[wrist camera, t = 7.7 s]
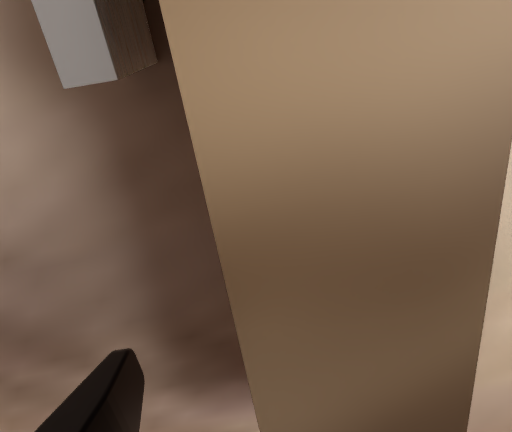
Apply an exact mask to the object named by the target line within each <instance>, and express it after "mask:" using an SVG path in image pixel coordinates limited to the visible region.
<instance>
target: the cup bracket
mask: <svg viewBox="0 0 512 432" xmlns="http://www.w3.org/2000/svg"><path fill="white" fill-rule="evenodd" d="M31 2H32V4H33V7H34V10H35V12H36V15H37V18H38V21H39V23H40V26H41V29H42V31H43V34H44V37H45V40H46V42H47V45H48V48H49V50H50V53H51V56H52V59H53V61H54V64H55V67H56V69H57V72H58V75H59V78H60V80H61V83H62V86H63V88H64V89H67V88H73V87H79V86H85V85H91V84H97V83H103V82H108V81H114V80H119V79H121V78H123V77H125V76H128V75H130V74H132V73H135V72H137V71H139V70H141V69H144V68H146V67H148V66H151V65H153V64H155V63H158V61H157V57H156V53H155V49H154V45H153V41H152V37H151V33H150V29H149V25H148V21H147V17H146V13H145V9H144V6H143V2H142V0H31Z"/></svg>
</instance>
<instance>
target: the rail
mask: <svg viewBox="0 0 512 432" xmlns="http://www.w3.org/2000/svg"><path fill="white" fill-rule="evenodd" d="M159 3H160V8H161V12H162V16H163V20H164V25H165V29H166V33H167V38H168V42H169V46H170V50H171V55H172V59H173V63H174V67H175V72H176V76H177V80H178V84H179V89H180V93H181V97H182V102H183V106H184V110H185V114H186V119H187V123H188V127H189V131H190V136H191V140H192V144H193V148H194V153H195V157H196V161H197V166H198V170H199V174H200V178H201V183H202V187H203V191H204V195H205V200H206V204H207V208H208V212H209V217H210V221H211V225H212V230H213V234H214V238H215V242H216V247H217V251H218V255H219V259H220V264H221V268H222V272H223V276H224V281H225V285H226V289H227V294H228V298H229V302H230V306H231V311H232V315H233V319H234V323H235V328H236V332H237V336H238V340H239V345H240V349H241V353H242V358H243V362H244V366H245V370H246V375H247V379H248V383H249V387H250V392H251V396H252V400H253V404H254V409H255V413H256V417H257V422H258V426H259V430H260V432H467V426H468V419H469V413H470V407H471V400H472V394H473V387H474V381H475V374H476V368H477V361H478V355H479V348H480V342H481V335H482V329H483V322H484V316H485V310H486V303H487V297H488V290H489V284H490V277H491V271H492V264H493V258H494V251H495V245H496V238H497V232H498V225H499V219H500V213H501V206H502V200H503V193H504V187H505V180H506V174H507V167H508V161H509V154H510V148H511V141H512V0H159Z"/></svg>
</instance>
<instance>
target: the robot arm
mask: <svg viewBox="0 0 512 432" xmlns="http://www.w3.org/2000/svg"><path fill="white" fill-rule="evenodd" d="M143 393H144V375H143V372H142V369H141V367H140V364H139V362H138V360H137V357H136V355H135V353H134V351H133V350H132V349H130V348H127V349H120V350H115V351H112V352H111V353H110V354H109V355H108V356H107V357H106V358H105V359H104V360H103V361H102V362H101V363H100V364H99V365H98V366H97V367H96V368H95V369H94V370H93V371H92V372H91V373H90V375H89V376H88V377H87V378H86V379H85V380H84V381H83V382H82V383H81V384H80V385H79V386H78V387H77V388H76V389H75V390H74V391H73V392H72V393H71V394H70V395H69V396H68V397H67V398H66V399H65V400H64V401H63V403H62V404H61V405H60V406H59V407H58V408H57V409H56V410H55V411H54V412H53V413H52V414H51V415H50V416H49V417H48V418H47V419H46V420H45V421H44V422H43V423H42V424H41V425H40V426H39V427H38V428H37V430H36V431H35V432H139V429H140V420H141V411H142V402H143Z"/></svg>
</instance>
